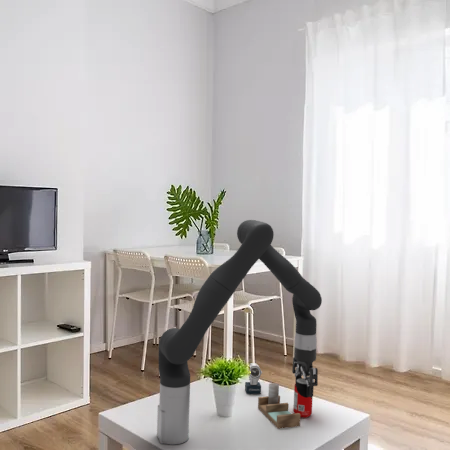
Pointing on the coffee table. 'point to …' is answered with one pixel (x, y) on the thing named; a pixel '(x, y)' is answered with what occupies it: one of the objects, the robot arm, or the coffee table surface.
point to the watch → (253, 380)
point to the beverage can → (302, 399)
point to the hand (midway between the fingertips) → (304, 392)
